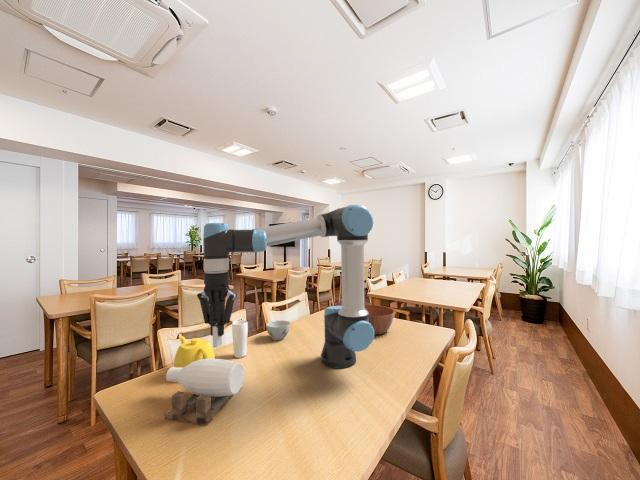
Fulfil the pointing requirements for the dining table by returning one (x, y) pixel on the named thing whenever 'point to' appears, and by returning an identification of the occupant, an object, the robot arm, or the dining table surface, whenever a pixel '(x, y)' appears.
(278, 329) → the teacup
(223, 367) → the bottle
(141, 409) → the dining table surface
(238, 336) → the white pillar candle
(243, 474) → the dining table surface
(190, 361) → the teapot
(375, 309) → the bowl
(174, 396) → the cradle
